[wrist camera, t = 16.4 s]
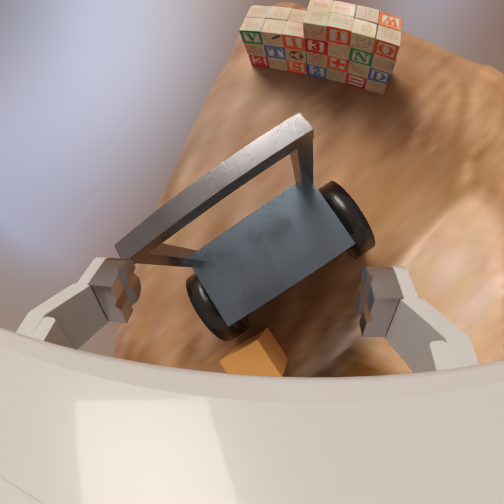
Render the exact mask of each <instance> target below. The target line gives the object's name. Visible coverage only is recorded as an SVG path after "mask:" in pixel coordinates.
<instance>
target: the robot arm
mask: <svg viewBox="0 0 504 504" xmlns="http://www.w3.org/2000/svg"><path fill="white" fill-rule="evenodd" d="M134 270H135V265H134V263H133V261H132V260H130V259H121V258H104V257H97V258H95V259H94V260H93V262H92V263H91V264H90V266H89V267H88V269H87V270H86V271H85V273H84V274H83V276H82V277H81V278H80V280H79V281H78V283H77V284H72V285H71V286H69V287H68V288H66V289H64V290H63V291H61V292H60V293H58V294H56V295H55V296H53V297H52V298H50V299H48V300H47V301H45V302H44V303H42V304H41V305H39V306H37V307H36V308H34V309H33V310H31V311H30V312H29V313H28V315H27V316H26V318H25V319H24V321H23V322H22V324H21V325H20V327H19V328H18V330H17V331H16V332H12V331H9V330H6V329H3V328H0V504H504V360H499V361H494V362H489V363H484V364H479V363H478V360H477V357H476V355H475V352H474V349H473V347H472V344H471V341H470V339H469V337H468V336H467V335H466V334H465V333H463V332H462V331H461V330H460V329H459V328H458V327H456V326H455V325H454V324H453V323H452V322H450V321H449V320H448V319H447V318H446V317H444V316H443V315H442V314H441V313H440V312H438V311H437V310H436V309H435V308H434V307H432V306H431V305H430V304H429V303H427V302H426V301H425V300H424V299H419V298H418V295H417V293H416V290H415V288H414V285H413V283H412V280H411V278H410V276H409V273H408V271H407V269H406V267H404V266H392V267H363V269H362V273H361V279H362V283H361V284H360V285H359V286H358V290H357V298H356V303H357V311H358V313H359V314H360V315H361V318H360V327H361V333H362V337H385V338H386V340H387V341H388V342H389V343H390V344H391V346H392V347H393V348H394V349H395V350H396V352H397V353H398V354H399V355H400V357H401V358H402V359H403V360H404V361H405V363H406V364H407V365H408V366H409V368H410V369H411V370H412V371H413V372H412V373H408V374H396V375H381V376H361V377H276V376H256V375H241V374H228V373H217V372H207V371H198V370H189V369H181V368H174V367H167V366H160V365H153V364H147V363H141V362H135V361H130V360H124V359H119V358H114V357H108V356H104V355H99V354H95V353H90V352H85V351H81V350H78V349H79V348H80V347H81V346H82V345H83V344H84V343H85V342H86V341H88V340H89V339H90V338H91V337H92V336H93V335H94V334H95V333H96V332H98V331H99V330H100V329H101V328H102V327H103V326H104V325H106V324H107V322H108V321H110V322H119V323H127V322H128V320H129V318H130V316H131V314H132V312H133V308H132V305H133V304H135V303H136V302H137V301H138V299H139V297H140V292H141V284H140V280H139V277H138V276H137V275H136V274H135V273H134Z"/></svg>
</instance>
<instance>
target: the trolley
mask: <svg viewBox="0 0 504 504" xmlns="http://www.w3.org/2000/svg"><path fill="white" fill-rule="evenodd" d="M313 139H314V135H313V128H312V127H311V125H310V124H309V123H308V122H307V121H306V120H305V118H304V117H303V116H302V115H301V114H300V113H297V114H296V115H294V116H292V117H291V118H289V119H288V120H286V121H284V122H283V123H281V124H280V125H278V126H276V127H275V128H273V129H272V130H270V131H268V132H267V133H265V134H264V135H262V136H261V137H259V138H258V139H256V140H255V141H253V142H252V143H250V144H249V145H247V146H245V147H244V148H243V149H241V150H240V151H238V152H237V153H235V154H234V155H232V156H231V157H229V158H228V159H226V160H225V161H223V162H222V163H221V164H219V165H218V166H216V167H215V168H213V169H212V170H211V171H209V172H208V173H206V174H205V175H204V176H202V177H201V178H199V179H198V180H197V181H195V182H194V183H193V184H191V185H190V186H189V187H187V188H186V189H184V190H183V191H182V192H180V193H179V194H178V195H176V196H175V197H174V198H173V199H171V200H170V201H169V202H167V203H166V204H165V205H163V206H162V207H161V208H160V209H158V210H157V211H156V212H154V213H153V214H152V215H151V216H149V217H148V218H147V219H146V220H144V221H143V222H142V223H141V224H140V225H138V226H137V227H136V228H134V229H133V230H132V231H131V232H130V233H128V234H127V235H126V236H125V237H123V238H122V239H121V240H120V241H119V242H118V243H116V244H115V248H116V250H117V252H118V254H119V256H120V258H121V259H130V260H132V261H133V263H134V264H135V263H141V264H154V265H168V266H181V267H192V268H193V270H194V272H195V273H194V274H193V275H191V276H190V277H189V278H188V279H187V281H186V288H187V292H188V296H189V298H190V301H191V303H192V305H193V307H194V309H195V311H196V312H197V314H198V316H199V317H200V319H201V320H202V321H203V323H204V324H205V325H206V326H207V327H208V329H209V330H210V331H211V332H212V333H213V334H215V335H216V336H217V337H218V338H220V339H222V340H224V341H230V340H231V339H233V338H235V337H236V336H238V335H240V334H241V333H243V332H245V331H246V330H248V328H249V324H248V319H247V316H246V315H248V314H249V313H251V312H253V311H254V310H256V309H257V308H259V307H261V306H262V305H264V304H265V303H267V302H268V301H270V300H272V299H273V298H275V297H276V296H278V295H279V294H281V293H282V292H284V291H286V290H287V289H289V288H290V287H292V286H293V285H295V284H296V283H298V282H299V281H301V280H302V279H304V278H305V277H307V276H308V275H310V274H311V273H313V272H314V271H316V270H317V269H319V268H320V267H322V266H323V265H325V264H326V263H328V262H329V261H331V260H332V259H334V258H335V257H337V256H338V255H340V254H341V253H343V252H344V251H345V250H346V251H347V252H348V253H349V254H350V255H351V256H352V257H353V258H355V259H357V258H359V257H360V256H361V255H363V254H364V253H366V252H367V251H369V250H370V249H371V248H373V247H374V246H375V239H374V235H373V233H372V230H371V228H370V226H369V224H368V222H367V220H366V218H365V217H364V215H363V213H362V212H361V210H360V209H359V207H358V206H357V204H356V203H355V202H354V200H353V199H352V198H351V197H350V195H349V194H348V193H347V192H346V191H345V190H344V189H343V188H342V187H341V186H340V185H339V184H337V183H336V182H334V181H330V182H329V183H327V184H326V185H324V186H323V187H321V188H320V189H317V188H316V186H315V185H314V184H313ZM289 154H290V155H291V160H292V165H293V170H294V176H295V181H296V184H295V185H293V186H292V187H290V188H289V189H287V190H286V191H284V192H283V193H281V194H280V195H278V196H277V197H275V198H274V199H272V200H271V201H269V202H268V203H266V204H265V205H263V206H262V207H260V208H259V209H257V210H256V211H254V212H253V213H251V214H250V215H249V216H247V217H246V218H244V219H243V220H241V221H240V222H238V223H237V224H235V225H234V226H232V227H231V228H230V229H228V230H227V231H225V232H224V233H222V234H221V235H220V236H218V237H217V238H215V239H214V240H212V241H211V242H209V243H208V244H207V245H205V246H204V247H202V248H201V249H200V250H198V251H196V250H191V249H187V248H182V247H177V246H173V245H168V244H163V242H164V241H165V240H167V239H168V238H169V237H171V236H172V235H173V234H175V233H176V232H178V231H179V230H180V229H182V228H183V227H184V226H186V225H187V224H188V223H190V222H191V221H193V220H194V219H195V218H197V217H198V216H199V215H201V214H202V213H204V212H205V211H206V210H208V209H209V208H211V207H212V206H213V205H215V204H216V203H218V202H219V201H220V200H222V199H223V198H225V197H226V196H228V195H229V194H230V193H232V192H233V191H235V190H236V189H238V188H239V187H241V186H242V185H244V184H245V183H246V182H248V181H249V180H251V179H252V178H254V177H255V176H257V175H258V174H260V173H261V172H263V171H264V170H266V169H267V168H269V167H270V166H272V165H273V164H275V163H276V162H278V161H279V160H281V159H282V158H284V157H285V156H287V155H289Z"/></svg>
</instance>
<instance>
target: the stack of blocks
mask: <svg viewBox="0 0 504 504" xmlns="http://www.w3.org/2000/svg"><path fill="white" fill-rule="evenodd" d="M401 27H402V18H400V17H397V16H393V15H390V14H387V13H383V12H379V10H376V9H372V8H368V7H364V6H360V5H357V6H356V5H355V4H350V3H345V2H339V1H332V0H310V3H309V6H308V8H307V11H305V10H298V9H292V8H283V7H274V6H273V7H270V6H256V5H252V6H251V8H250V10H249V12H248V14H247V16H246V18H245V20H244V22H243V24H242V26H241V27H240V29H239V31H240V34H241V37H242V40H243V42H244V43H245V47H246V50H247V53H248V54H249V58H250V61H251V64H252V65H254V66H262V67H270V68H273V69H278V70H284V71H290V72H295V73H300V74H305V75H311V76H316V77H320V78H324V79H329V80H333V81H337V82H341V83H345V84H347V85H351V86H355V87H358V88H362V89H365V90H368V91H371V92H374V93H377V94H381V95H384V92H385V89H386V87H387V83H388V81H389V78H390V76H391V73H392V71H393V68H394V65H395V62H396V56H397V53H398V50H399V47H400V39H401Z"/></svg>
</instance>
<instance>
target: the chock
mask: <svg viewBox="0 0 504 504" xmlns="http://www.w3.org/2000/svg"><path fill="white" fill-rule="evenodd" d="M287 360H288V358H287V356H286V354H285V353H284V351H283V350H282V348H281V347H280V345H279V344H278V342H277V341H276V339H275V338H274V336H273V334H272V333H271V331H270V330H269V328H268V327H267V328H266V329H264V330H262V331H261V332H259V333H257V334H256V335H254V336H252V337H251V338H249V339H247V340H246V341H244V342H242V343H241V344H239V345H237V346H236V347H235V348H234V349H233V350H232V351H230V352H229V353H228V354H227V355H226V356H225V357H224V358H223V359H222V360H220V361H219V362H220V363H221V365H222V366H223V368H224V369H225V371H226V372H227V373H228V374H241V375H256V376H276V377H283V374H284V370H285V367H286V364H287Z"/></svg>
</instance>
